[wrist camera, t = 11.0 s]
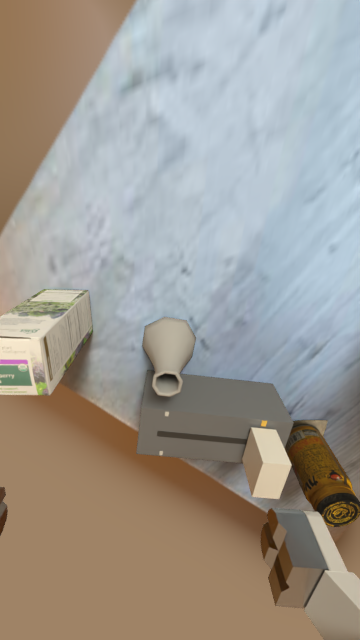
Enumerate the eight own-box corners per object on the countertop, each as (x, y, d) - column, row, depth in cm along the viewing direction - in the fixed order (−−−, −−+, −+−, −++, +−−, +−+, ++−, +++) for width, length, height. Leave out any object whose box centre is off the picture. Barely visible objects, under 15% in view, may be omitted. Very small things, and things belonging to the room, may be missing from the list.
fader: (242, 459, 36) (252, 496, 32) (251, 427, 34) (263, 462, 30) (265, 461, 36) (279, 499, 32) (276, 429, 35) (291, 465, 30)
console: (142, 410, 44) (136, 454, 36) (147, 370, 41) (141, 408, 33) (261, 422, 45) (278, 466, 37) (272, 383, 42) (293, 423, 35)
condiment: (318, 455, 48) (361, 533, 36) (265, 455, 47) (293, 533, 36) (326, 419, 45) (377, 491, 34) (271, 419, 45) (303, 492, 34)
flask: (199, 360, 41) (206, 408, 31) (147, 367, 41) (139, 416, 32) (192, 312, 38) (197, 348, 29) (137, 320, 38) (124, 358, 29)
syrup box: (49, 330, 38) (-18, 400, 25) (42, 286, 36) (-35, 337, 23) (93, 331, 39) (50, 400, 25) (89, 287, 36) (39, 338, 23)
